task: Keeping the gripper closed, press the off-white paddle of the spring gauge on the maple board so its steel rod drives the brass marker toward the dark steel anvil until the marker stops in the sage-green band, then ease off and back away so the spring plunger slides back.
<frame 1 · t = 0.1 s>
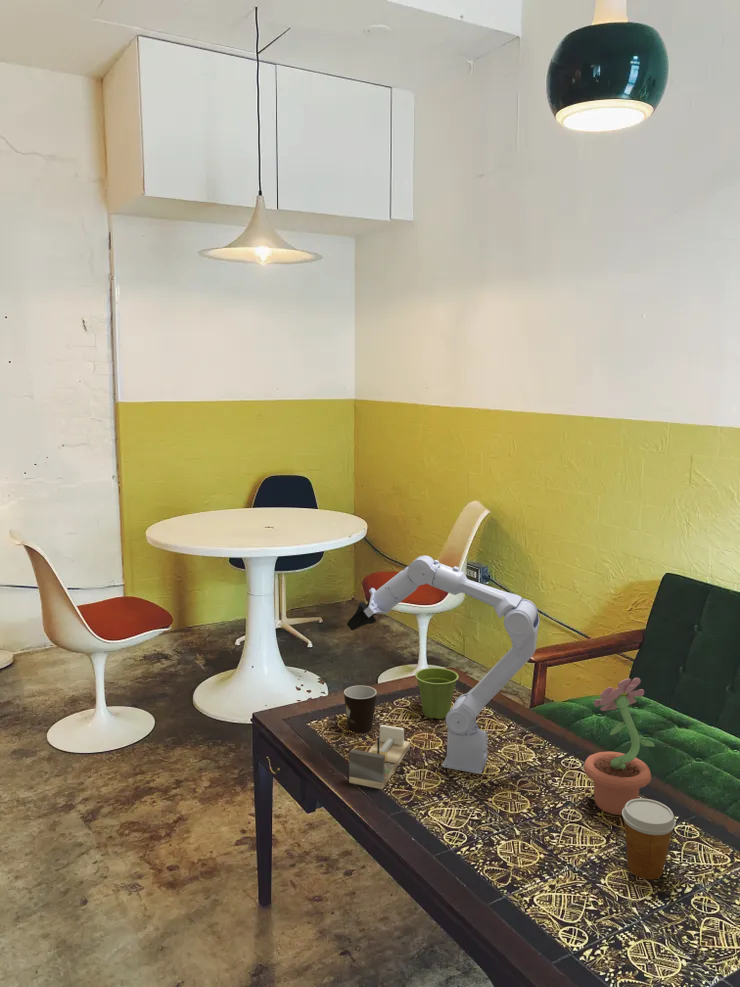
hand: (355, 622, 190), 32 cm above the table, tool tilted 50°, fingers open, 7 cm apart
plant pot: (436, 714, 213), on the table
disposable coffee cup: (644, 870, 147), on the table
gauge board: (381, 764, 185), on the table
coffee mug: (360, 726, 205), on the table
decorative flower: (617, 806, 168), on the table
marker: (383, 750, 182), point 5 cm above the table, slide at 0.0 cm
plunger: (386, 741, 188), point 4 cm above the table, slide at 0.0 cm
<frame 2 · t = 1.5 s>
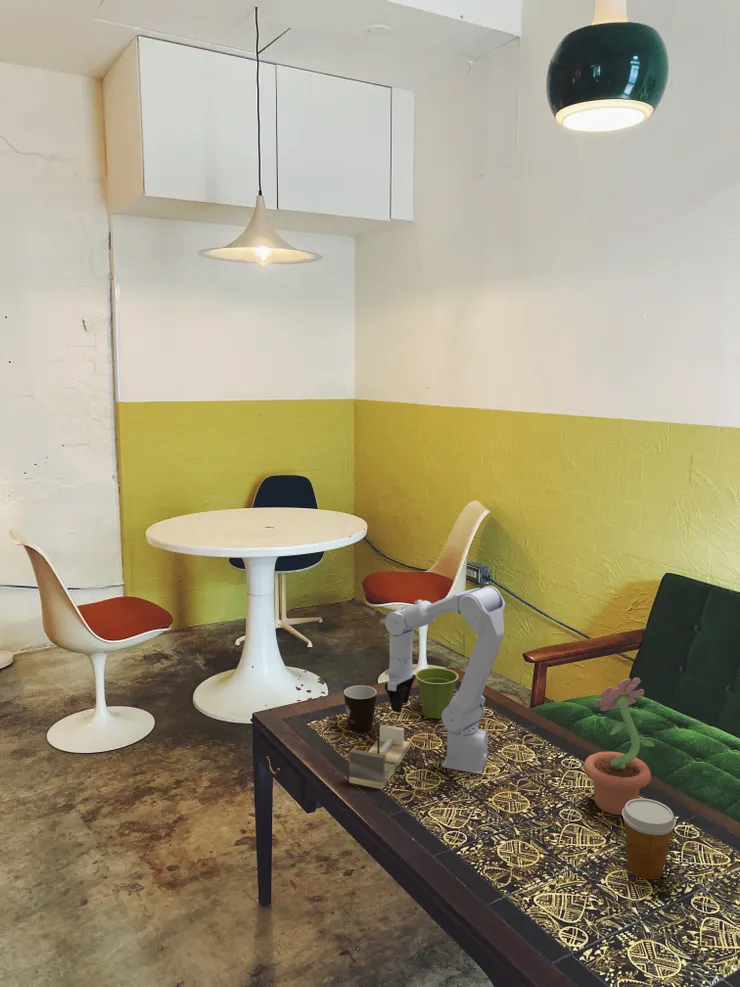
hand: (400, 706, 197), 8 cm above the table, tool pointing down, fingers open, 5 cm apart
nothing on the table moved.
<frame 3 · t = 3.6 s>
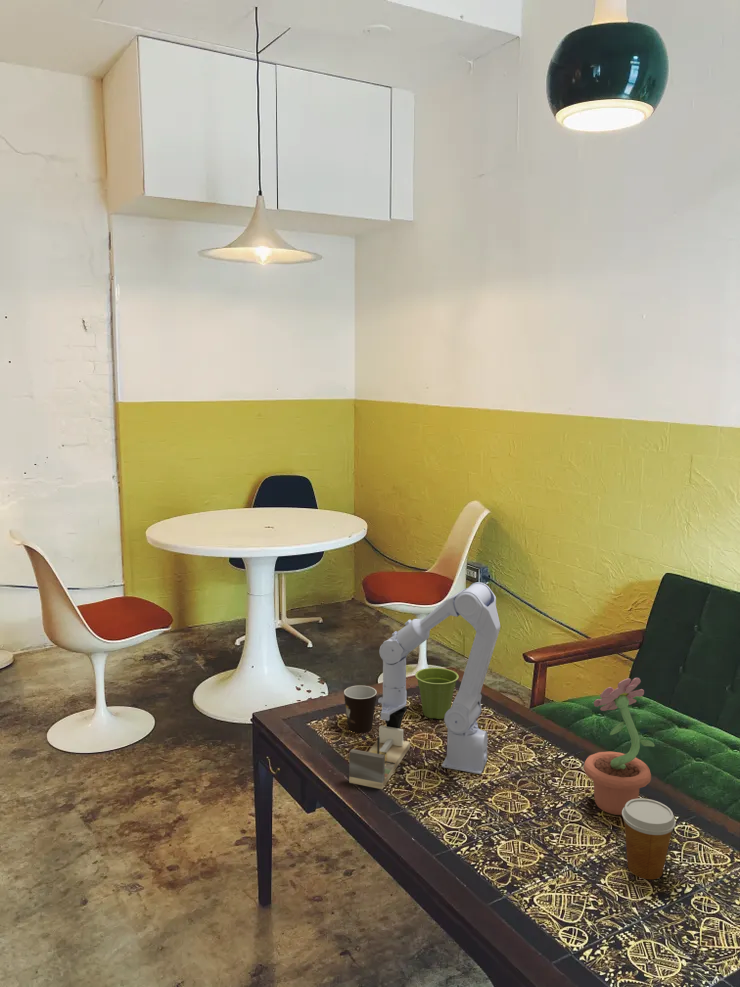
hand: (393, 735, 193), 3 cm above the table, tool pointing down, fingers closed
plunger: (386, 742, 188), point 4 cm above the table, slide at 0.5 cm, touching gripper
everything else where it was.
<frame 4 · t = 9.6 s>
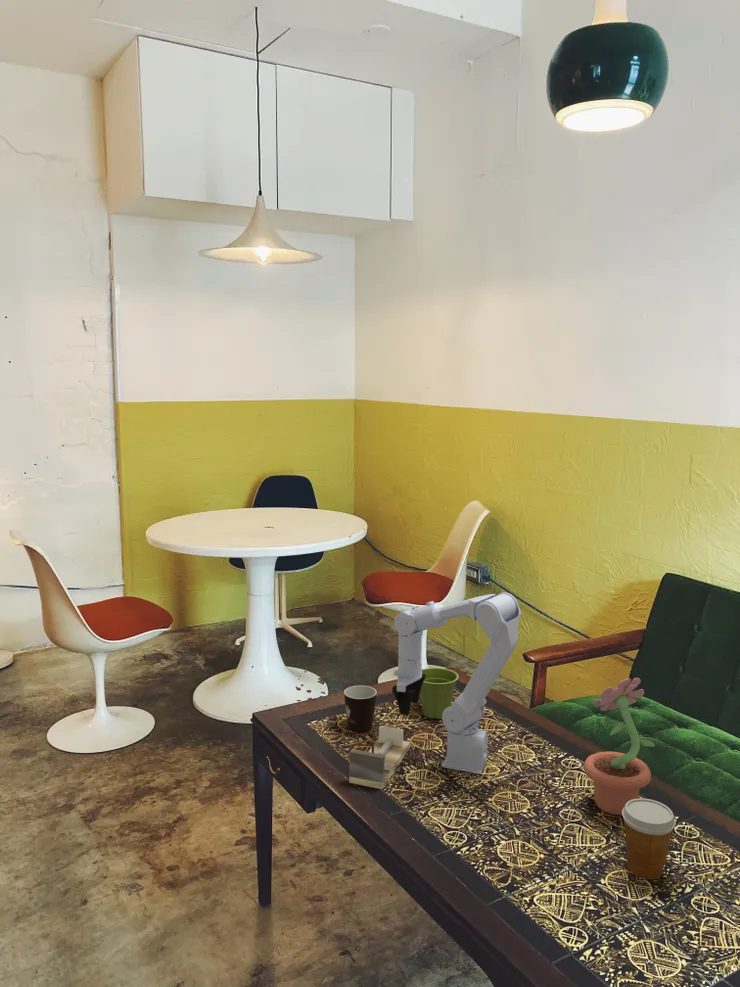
hand: (409, 708, 194), 9 cm above the table, tool pointing down, fingers open, 7 cm apart
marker: (377, 757, 178), point 5 cm above the table, slide at 3.8 cm
plunger: (386, 742, 188), point 4 cm above the table, slide at 0.6 cm
everything else where it was.
at the end: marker slide at 3.8 cm; plunger slide at 0.6 cm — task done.
